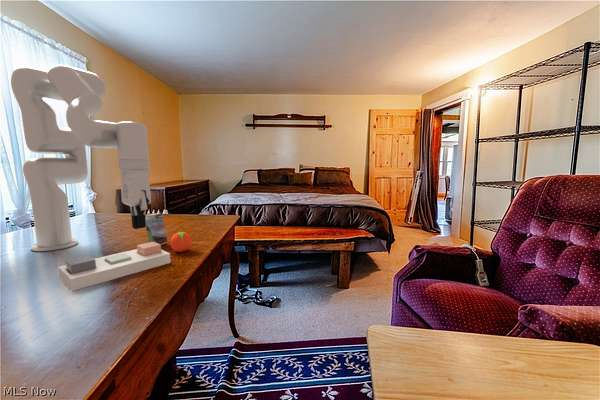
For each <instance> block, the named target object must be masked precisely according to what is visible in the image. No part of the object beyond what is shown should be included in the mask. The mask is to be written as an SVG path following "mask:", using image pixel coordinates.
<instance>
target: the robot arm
mask: <svg viewBox="0 0 600 400" xmlns="http://www.w3.org/2000/svg"><path fill="white" fill-rule="evenodd" d="M10 86H11V91H12V93H13V95H14V98H15V100H16V102H17V104H18V106H19V108H20V113H21V119H22V120H21V121H22V127H23V135H24V140H25V141H24V142H25V145H26V147H27V149H28V150H29V151H31V152H33V153H37V154H46V155H47V154H48V155H51V154H53V155H64V157H35V158H34V157H33V158H30V159H28V160H26V161H25V162H24V164H23V166H22V173H23V176H24V179H25V181H26V185H27V186H28V187H27V188H28V191H29V196H30V203H31V210H32V219H33V224H34V231H35V232H34V233H35V240H36V243H33V244H32V245H31V246H30V250H31V251H34V252H50V251H51V252H52V251H57V250H58V251H59V250H64V249H66V248H71V247H74V246H76V245H77V244H78V243H79V241H78V239H77V238H73V236H72V235H73V234H72V228H71V225H72V224H71V218H70V217H71V216H70V208H69V207H70V206H69V200H68V196H67V194H66V193H65V191H64V190H63V189H61V188H60V186H61V185H70V184H71V185H72V184H81V183H83V182H85V181H86V180H87V178H88V174H89V173H88V170H89V169H88V159H87V151H86V146H87V147H90V148H98V149H113V150H114V149H115V150H117V155H118V168H119V172H121V173H120V193H121V195H120V196H121V198H120V199H121V203H122V204H124V205H127V206H129V208H130V214H131V215H130V216H131V228H133V229H134V230H139V229H143V228H146V218H145V217H146V215H147V214H146V210H148V206H149V205H150V204H151V202H152V201H151V200H152V195H151V185H150V178H149V172H150V171H151V170H150V155H149V154H150V153H149V140H148V129H147V128H148V127H147V126H146V125H145V124H144V123H142V122H137V121H119V122H112V121H104V120H97V119H92V118H91V117H92V116H95V115H96V114H98V113H100V112H101V110H102V107H103V100H102V99H103V98H104V96H105V95H106V89H107V88H106V85H105V83H104V80H103V78H101V77H100V76H98V75H97V74H96V73H93V72H90V71H87V70H83V69H80V68H77V67H73V66H70V65H63V64H56V65H54V66H51V67H50V68H49V69H48V70H46V69H41V68H36V67H32V66H31V67H30V66H20V67H16V68H15V69H14V70H13V71H12V73H11V77H10ZM44 98H47V99H52V100H57V101H63V102H65V103H66V104H67V105H68V106H67V108H66V113H65V117H66V118H65V119H66V124H67V126H68V127H62V126H61V127H60V126H59V124H58V121H57V114H56V111H55V109H53V107H52V106H51V104H49V102H48V101H46V100H45V99H44Z"/></svg>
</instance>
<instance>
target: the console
mask: <svg viewBox="0 0 600 400" xmlns="http://www.w3.org/2000/svg"><path fill="white" fill-rule="evenodd" d="M122 253H125V254H127V255H129V256H131V260H128V261H124V262H120V263H116V264H112V265H110V264H109V263H107V262H106V261H105V257H109V256H114V255H118V254H122ZM94 259H95V263H96V269H92V270H88V271H84V272H80V273H76V274H72V275H70V274H69V273H68V272H67V267H66V264H65V265H60V266H58V267H57V268H58V274H59V275H58V276H59V278H60V280H61V279H62V280H63V281H62V280H61V281H62V282H63V283H64V284H65V286H67V287H68V288H69V290H70V291H71V290H72V292H73V291H77V290H81V289H84V288H88V287H91V286H95V285H99V284H101V283H104V282H108V281H111V280H116V279H119V278H122V277H125V276H129V275H134V274H136V273H139V272H143V271H146V270H149V269H153V268H157V267H160V266H163V265H167V264H171V252H168V251H165V250H163V249H161V252H160V253H156V254H152V255H148V256H142V255H140V254H138V253H137V248H135V249H131V250H126V251H122V252H118V253H113V254H109V255H106V256H105V255H103V256H100V257H95V258H94Z"/></svg>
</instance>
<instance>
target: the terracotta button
mask: <svg viewBox="0 0 600 400" xmlns="http://www.w3.org/2000/svg"><path fill="white" fill-rule="evenodd" d="M136 249H137V253H138V254H140V255H142V256H148V255H152V254H156V253H160V252H161V250H162V245H160V244H158V243H156V242H149V241H148V242H146V243H141V244H137V245H136Z"/></svg>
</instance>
